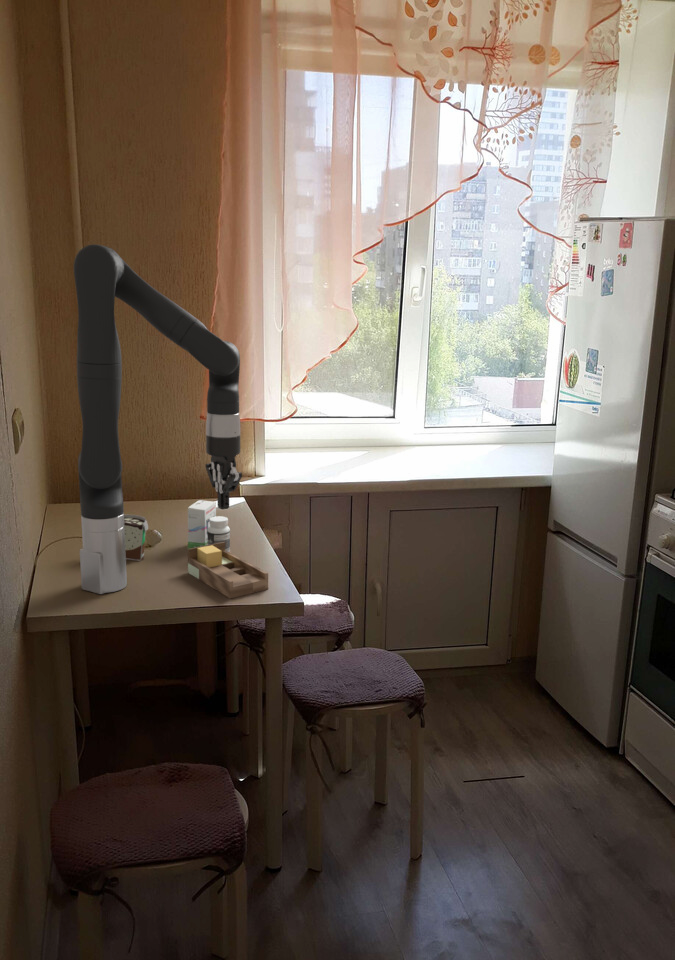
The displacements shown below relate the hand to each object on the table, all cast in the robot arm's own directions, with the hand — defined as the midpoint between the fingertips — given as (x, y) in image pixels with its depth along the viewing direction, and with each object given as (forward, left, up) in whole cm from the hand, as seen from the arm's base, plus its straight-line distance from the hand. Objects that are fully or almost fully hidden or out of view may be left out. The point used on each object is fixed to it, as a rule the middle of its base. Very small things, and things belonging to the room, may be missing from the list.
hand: (223, 508), depth 188 cm
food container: (+4, +33, -19) cm, 38 cm away
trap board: (+3, +1, -19) cm, 19 cm away
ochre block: (+4, +8, -16) cm, 18 cm away
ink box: (+19, +22, -19) cm, 34 cm away
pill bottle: (+16, +14, -19) cm, 28 cm away
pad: (+5, +8, -18) cm, 21 cm away
